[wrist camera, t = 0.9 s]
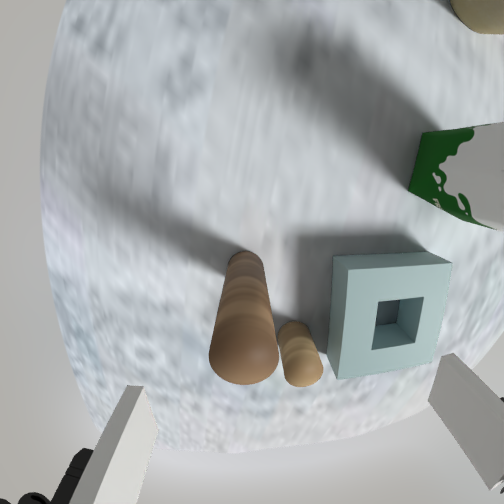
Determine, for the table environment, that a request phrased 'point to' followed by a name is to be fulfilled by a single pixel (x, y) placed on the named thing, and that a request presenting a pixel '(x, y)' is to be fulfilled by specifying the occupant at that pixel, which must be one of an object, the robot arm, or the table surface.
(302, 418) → the table surface
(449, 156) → the milk carton
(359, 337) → the socket block
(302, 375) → the oak pin short
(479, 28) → the plant pot
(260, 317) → the walnut pin long
